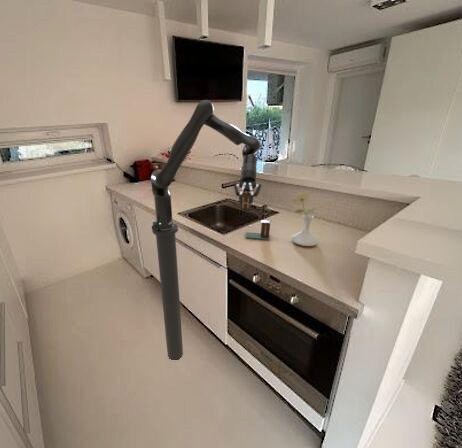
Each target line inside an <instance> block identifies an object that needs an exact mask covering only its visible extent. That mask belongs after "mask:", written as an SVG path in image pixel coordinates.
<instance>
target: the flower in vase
mask: <svg viewBox="0 0 462 448" xmlns="http://www.w3.org/2000/svg"><path fill="white" fill-rule="evenodd" d="M310 199H311V194H310V193H308V192H307V191H304V192H302V191H301V192H300V193H297V195H295V196H294V197H293V199H292V204H294V205H297V206H300V205H302V209H301V208H299V209H297V210H295V211H294V212H293V213H295V214H302V213H303V212H304V213H303V214H302V215H301V216H302V218H303V228H302V230H301V231H299V232H297V233H294V234H293V235H292V236H291V241H292V242H293V243H294V244H297V245H299V246H302V247H313V246H315V245H318V243H319V240H318V238H317V237H316V236H315V235H314V234H313V233H312V232H311V231H310V225H311V222H312V220H313V219H314V218H315V215H313V214H312V213H313V212H314V211H315V207H312V208H309V209H306V210H305V203H307V202H308V201H309V200H310Z"/></svg>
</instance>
